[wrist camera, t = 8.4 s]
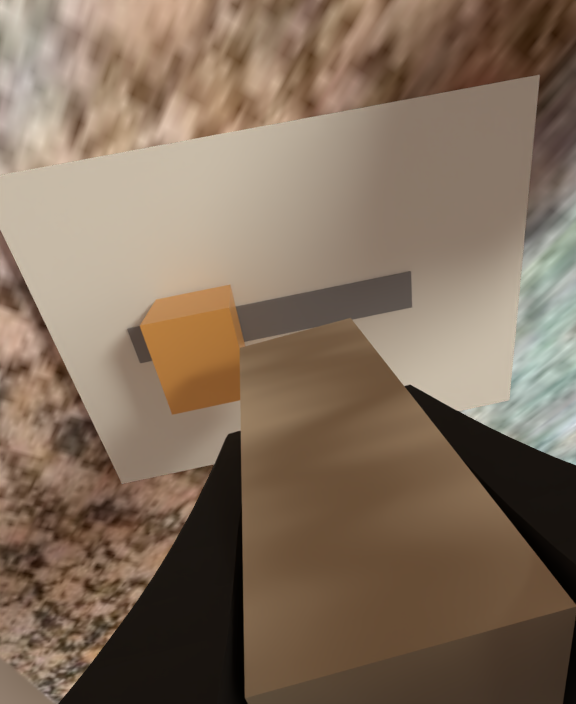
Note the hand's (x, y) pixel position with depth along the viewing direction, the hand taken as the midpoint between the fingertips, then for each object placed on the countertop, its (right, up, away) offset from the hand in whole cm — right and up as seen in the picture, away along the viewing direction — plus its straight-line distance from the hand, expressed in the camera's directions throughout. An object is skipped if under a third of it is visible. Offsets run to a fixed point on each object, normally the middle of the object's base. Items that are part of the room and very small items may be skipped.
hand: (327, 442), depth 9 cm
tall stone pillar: (0, +1, +2) cm, 3 cm away
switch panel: (-1, +4, +8) cm, 9 cm away
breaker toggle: (-4, +3, +7) cm, 9 cm away
